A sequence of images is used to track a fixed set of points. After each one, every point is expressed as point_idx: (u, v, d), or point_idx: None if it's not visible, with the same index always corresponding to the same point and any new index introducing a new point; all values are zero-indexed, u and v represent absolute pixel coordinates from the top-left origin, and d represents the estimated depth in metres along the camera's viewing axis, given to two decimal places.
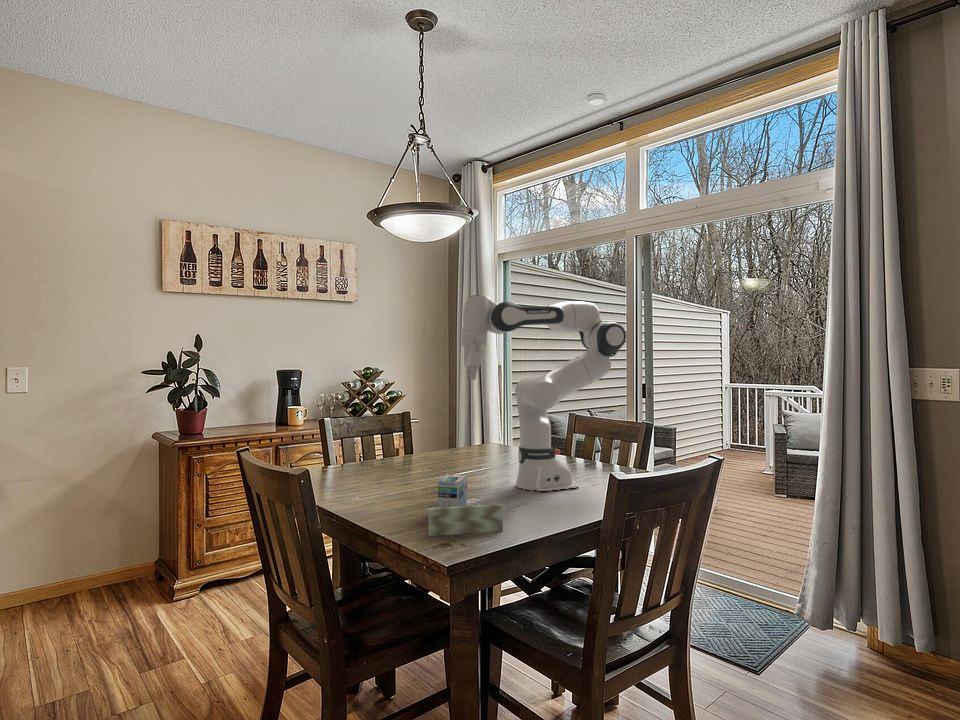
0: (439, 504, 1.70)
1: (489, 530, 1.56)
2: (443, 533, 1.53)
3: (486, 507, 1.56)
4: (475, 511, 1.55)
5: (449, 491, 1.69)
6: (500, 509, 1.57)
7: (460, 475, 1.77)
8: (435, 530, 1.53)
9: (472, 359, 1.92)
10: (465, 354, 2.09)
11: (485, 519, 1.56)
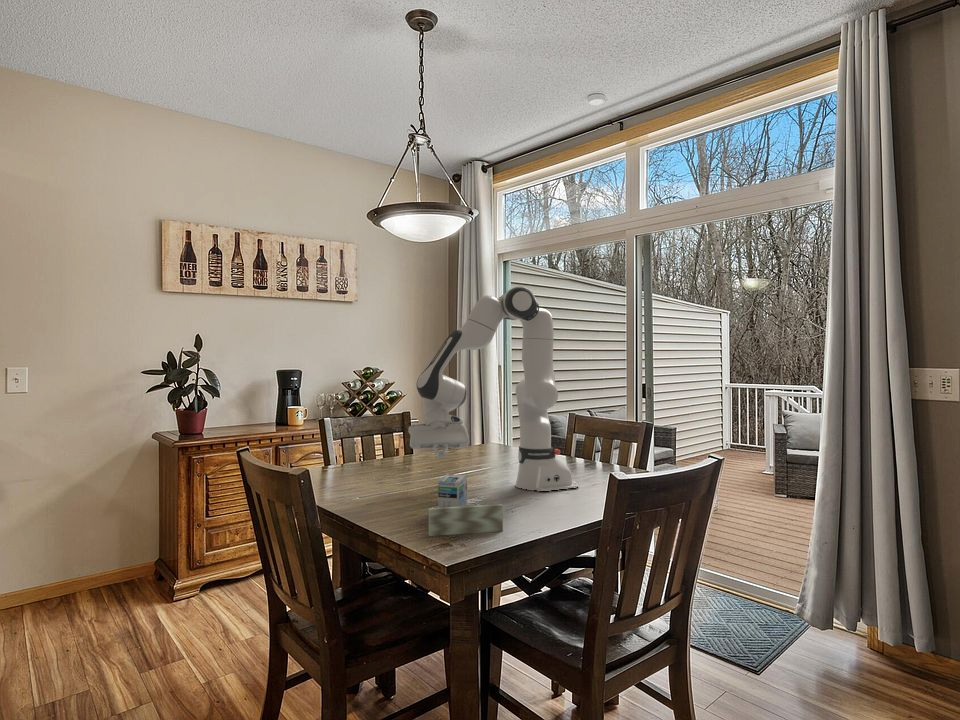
0: (439, 504, 1.70)
1: (489, 530, 1.56)
2: (443, 533, 1.53)
3: (486, 507, 1.56)
4: (475, 511, 1.55)
5: (449, 491, 1.69)
6: (500, 509, 1.57)
7: (460, 475, 1.77)
8: (435, 530, 1.53)
9: None
10: None
11: (485, 519, 1.56)
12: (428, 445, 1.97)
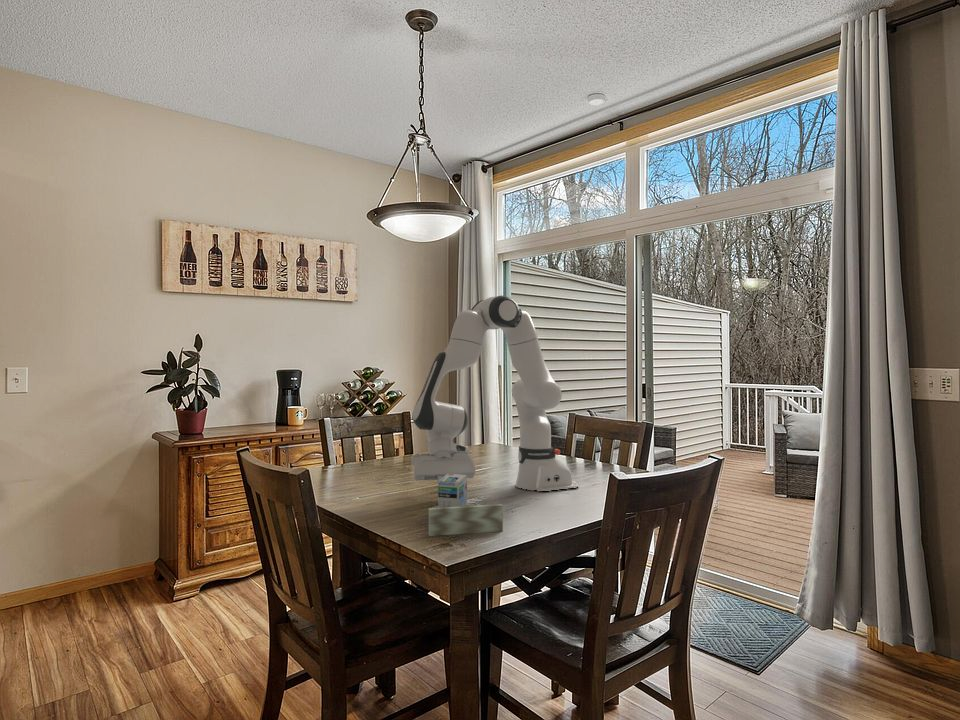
0: (439, 504, 1.70)
1: (489, 530, 1.56)
2: (443, 533, 1.53)
3: (486, 507, 1.56)
4: (475, 511, 1.55)
5: (449, 491, 1.69)
6: (500, 509, 1.57)
7: (460, 475, 1.77)
8: (435, 530, 1.53)
9: (413, 474, 1.87)
10: None
11: (485, 519, 1.56)
12: (432, 476, 1.87)
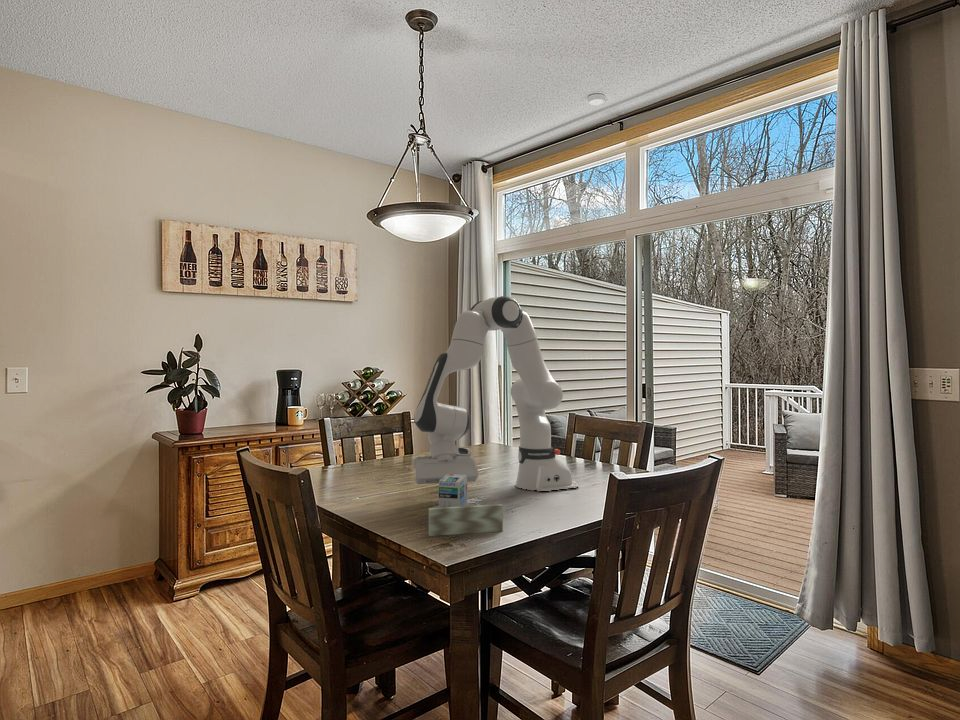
0: (440, 504, 1.69)
1: (489, 530, 1.56)
2: (443, 533, 1.53)
3: (486, 507, 1.56)
4: (475, 511, 1.55)
5: (450, 491, 1.68)
6: (500, 509, 1.57)
7: (460, 475, 1.77)
8: (435, 530, 1.53)
9: None
10: None
11: (485, 519, 1.56)
12: (434, 480, 1.83)
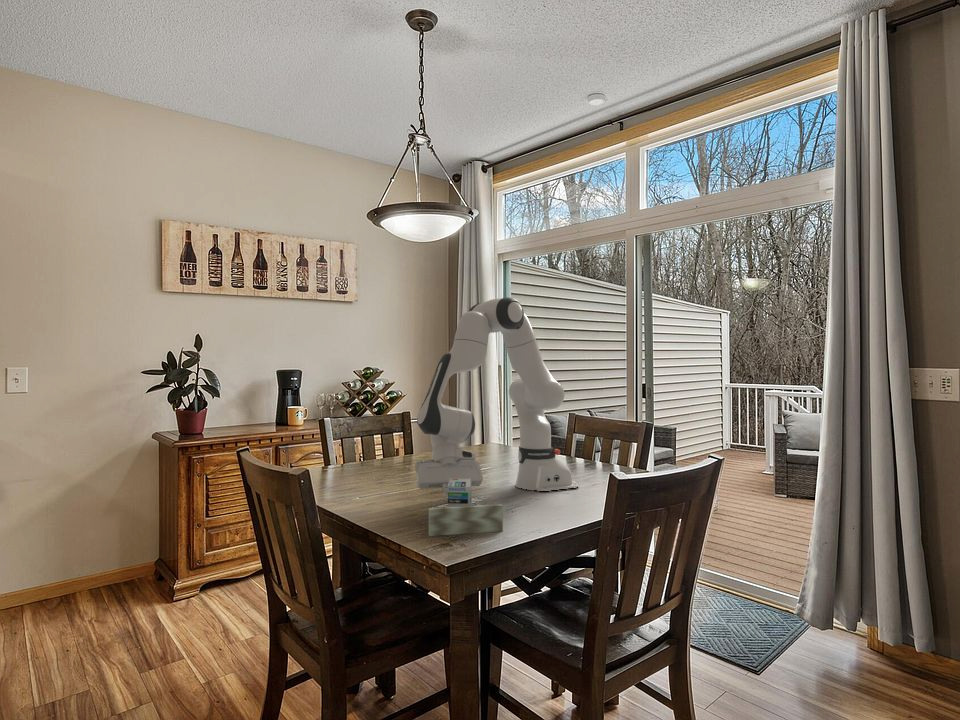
0: None
1: (489, 530, 1.56)
2: (443, 533, 1.53)
3: (486, 507, 1.56)
4: (475, 511, 1.55)
5: (459, 496, 1.62)
6: (500, 509, 1.57)
7: (465, 479, 1.71)
8: (435, 530, 1.53)
9: None
10: None
11: (485, 519, 1.56)
12: (437, 484, 1.77)
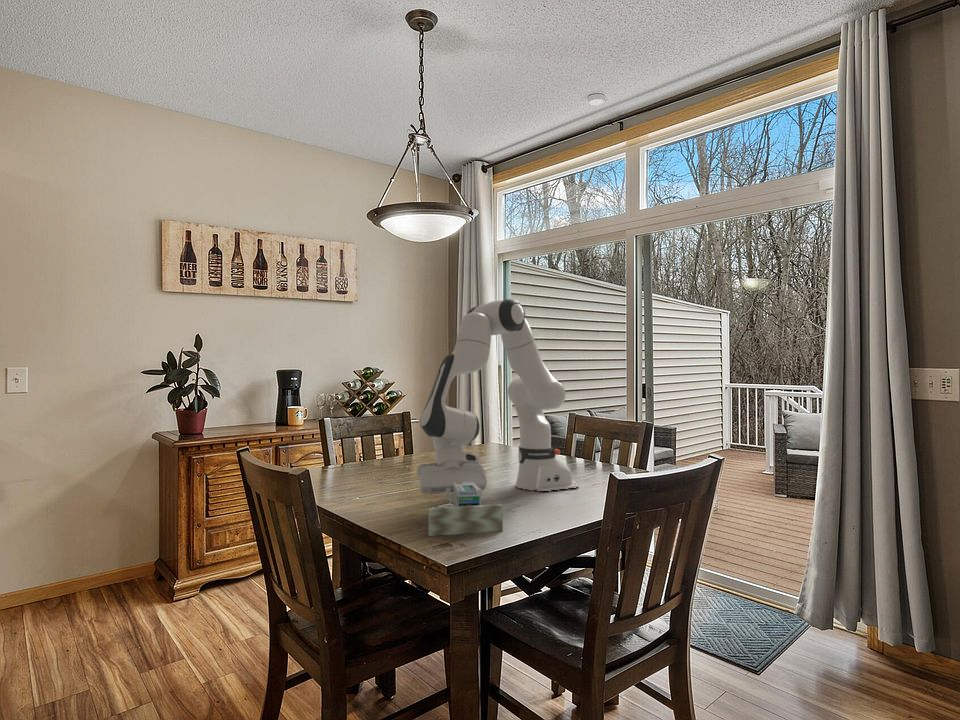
0: None
1: (489, 530, 1.56)
2: (443, 533, 1.53)
3: (486, 507, 1.56)
4: (475, 511, 1.55)
5: (471, 501, 1.58)
6: (500, 509, 1.57)
7: (469, 483, 1.67)
8: (435, 530, 1.53)
9: (419, 486, 1.72)
10: None
11: (485, 519, 1.56)
12: (440, 488, 1.72)
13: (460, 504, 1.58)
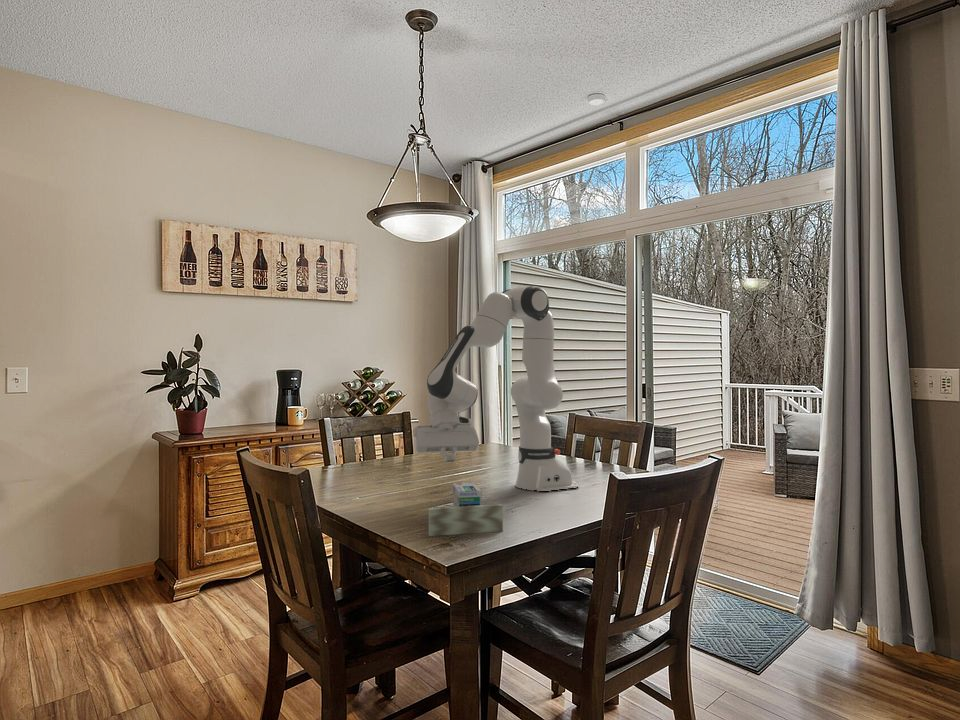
0: None
1: (489, 530, 1.56)
2: (443, 533, 1.53)
3: (486, 507, 1.56)
4: (475, 511, 1.55)
5: (471, 501, 1.58)
6: (500, 509, 1.57)
7: (469, 483, 1.66)
8: (435, 530, 1.53)
9: (415, 446, 1.82)
10: None
11: (485, 519, 1.56)
12: (435, 448, 1.83)
13: (460, 505, 1.57)
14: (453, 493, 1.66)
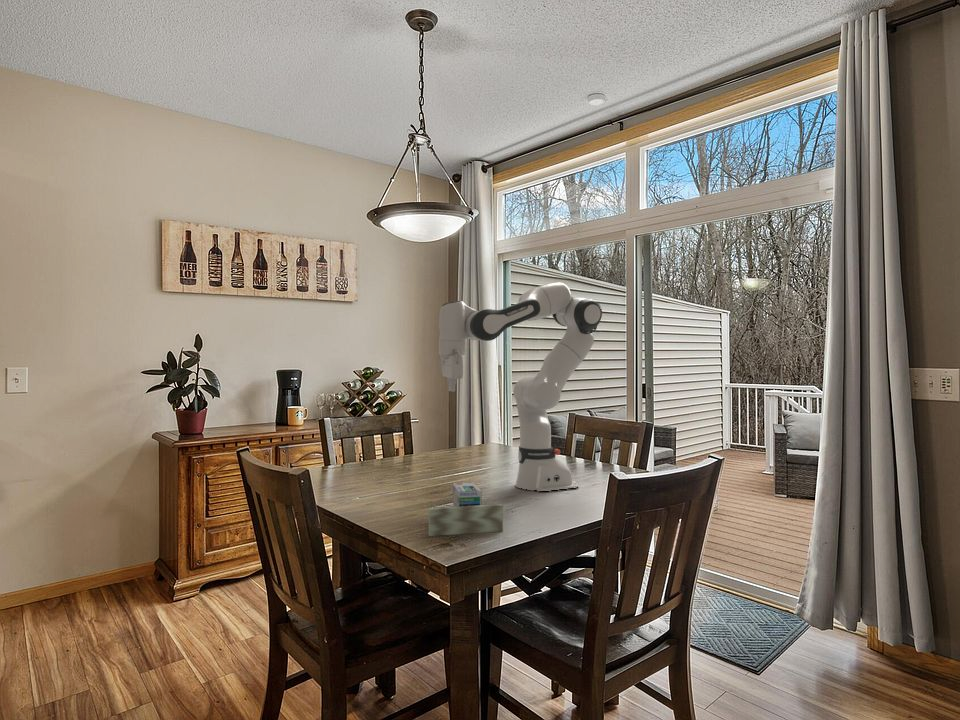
0: None
1: (489, 530, 1.56)
2: (443, 533, 1.53)
3: (486, 507, 1.56)
4: (475, 511, 1.55)
5: (471, 501, 1.58)
6: (500, 509, 1.57)
7: (469, 483, 1.66)
8: (435, 530, 1.53)
9: (453, 372, 1.82)
10: (442, 362, 1.99)
11: (485, 519, 1.56)
12: None
13: (460, 505, 1.57)
14: (453, 493, 1.66)
